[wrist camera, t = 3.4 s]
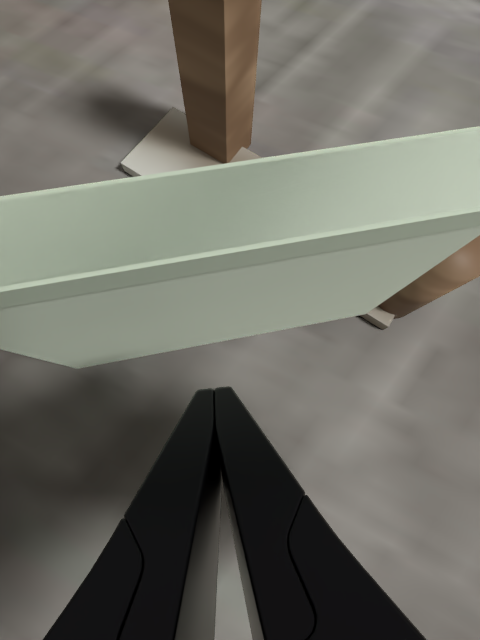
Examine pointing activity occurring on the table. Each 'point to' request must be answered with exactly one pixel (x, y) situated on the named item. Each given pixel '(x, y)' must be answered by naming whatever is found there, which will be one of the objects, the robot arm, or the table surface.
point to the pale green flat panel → (230, 247)
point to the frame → (248, 126)
